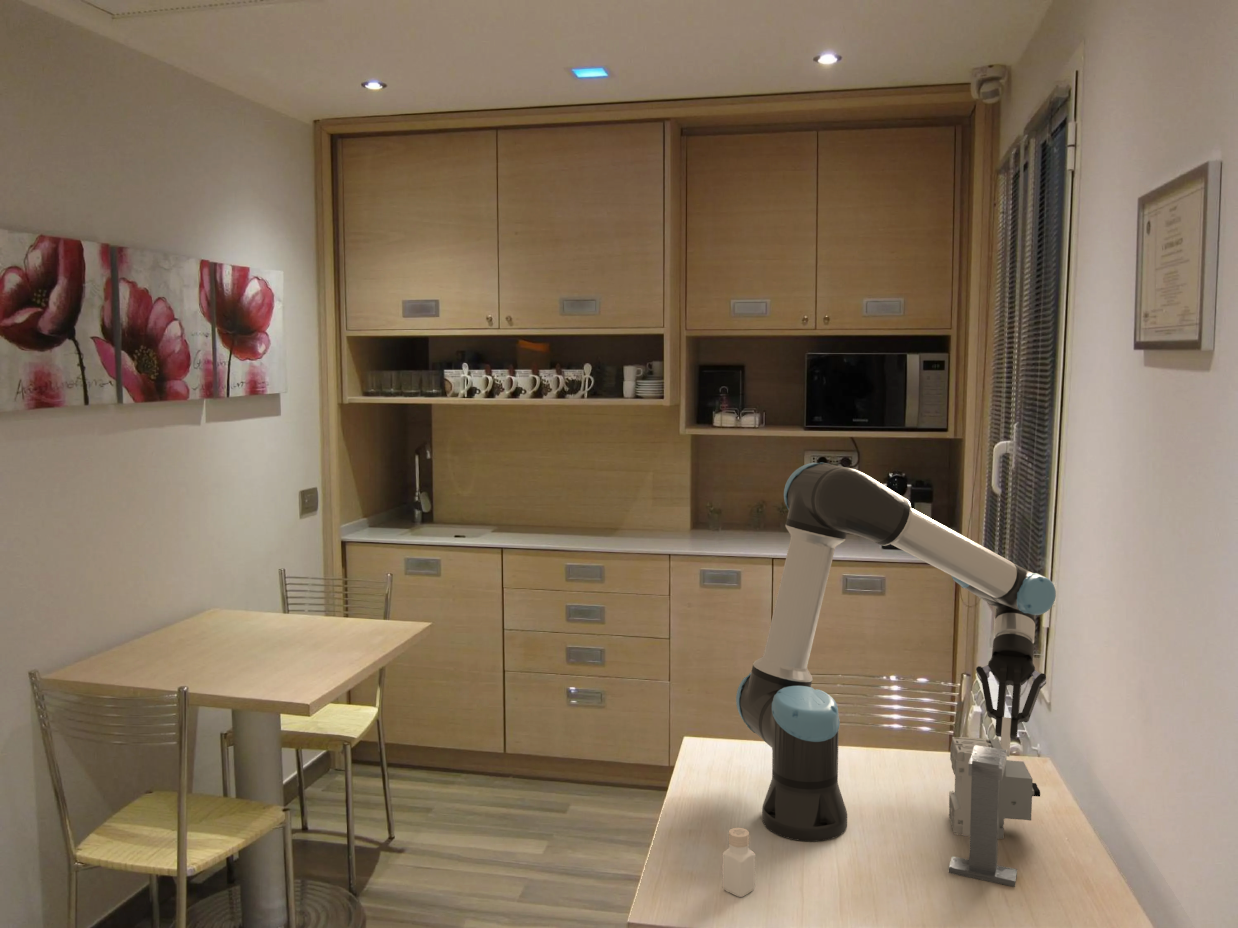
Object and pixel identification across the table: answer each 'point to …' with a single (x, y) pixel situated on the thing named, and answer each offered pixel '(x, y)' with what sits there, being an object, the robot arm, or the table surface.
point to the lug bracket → (985, 819)
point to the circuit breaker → (1012, 787)
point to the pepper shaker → (739, 864)
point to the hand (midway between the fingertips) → (1004, 752)
